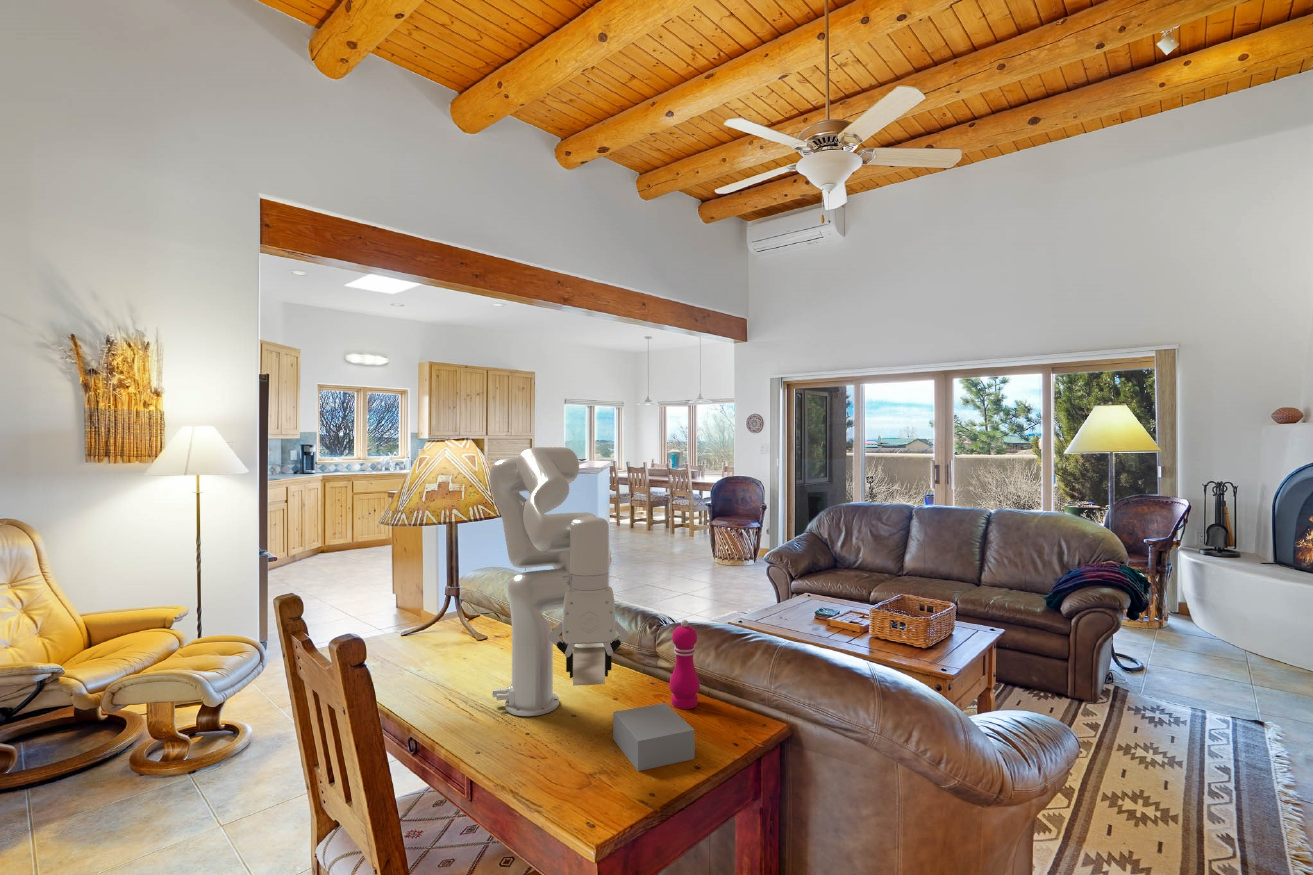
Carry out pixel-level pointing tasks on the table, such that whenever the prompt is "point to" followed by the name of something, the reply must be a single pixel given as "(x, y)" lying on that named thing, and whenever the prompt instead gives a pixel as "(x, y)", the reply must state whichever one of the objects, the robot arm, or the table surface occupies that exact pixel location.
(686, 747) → the slate block
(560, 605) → the robot arm
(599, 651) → the cream block
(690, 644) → the pepper mill
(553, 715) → the table surface
